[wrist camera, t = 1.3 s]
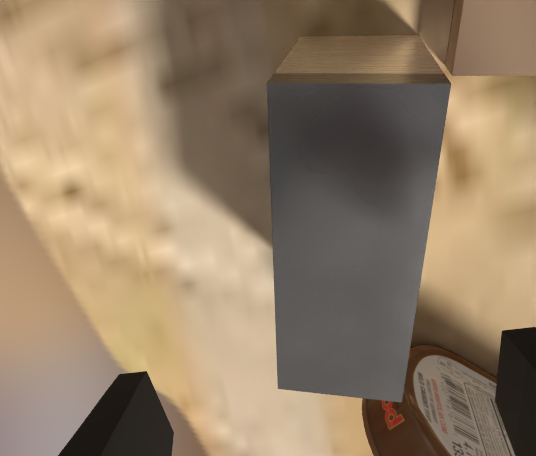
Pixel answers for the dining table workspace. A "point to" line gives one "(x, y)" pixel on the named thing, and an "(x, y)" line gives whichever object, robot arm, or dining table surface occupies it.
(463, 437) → the tin
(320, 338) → the block
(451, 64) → the stand
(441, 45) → the dining table surface
